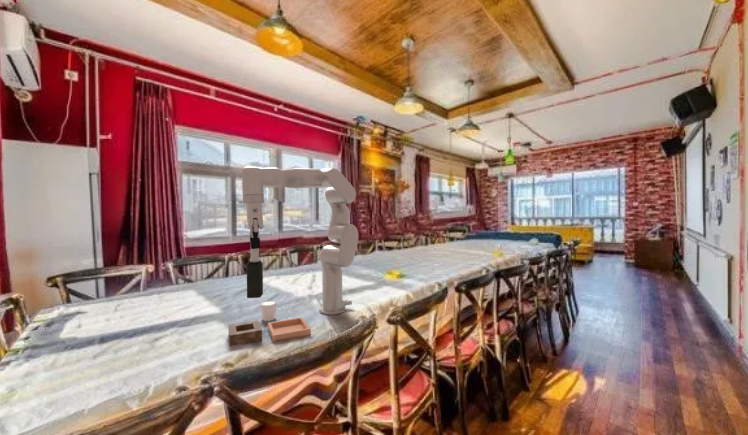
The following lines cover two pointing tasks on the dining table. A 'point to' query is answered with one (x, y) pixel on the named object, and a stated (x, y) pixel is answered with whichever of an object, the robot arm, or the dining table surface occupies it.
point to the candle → (254, 275)
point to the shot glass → (268, 310)
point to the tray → (288, 329)
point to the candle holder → (245, 333)
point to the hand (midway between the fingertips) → (255, 247)
